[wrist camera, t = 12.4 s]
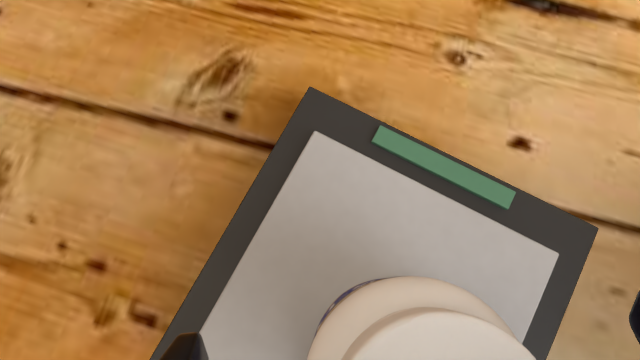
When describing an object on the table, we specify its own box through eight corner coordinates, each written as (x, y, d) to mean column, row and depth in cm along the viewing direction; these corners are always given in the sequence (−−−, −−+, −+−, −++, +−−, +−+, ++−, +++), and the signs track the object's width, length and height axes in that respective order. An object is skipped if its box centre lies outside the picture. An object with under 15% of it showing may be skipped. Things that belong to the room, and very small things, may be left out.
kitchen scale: (570, 234, 20) (612, 224, 17) (446, 532, 17) (470, 582, 14) (311, 105, 22) (308, 76, 19) (163, 360, 19) (133, 374, 16)
